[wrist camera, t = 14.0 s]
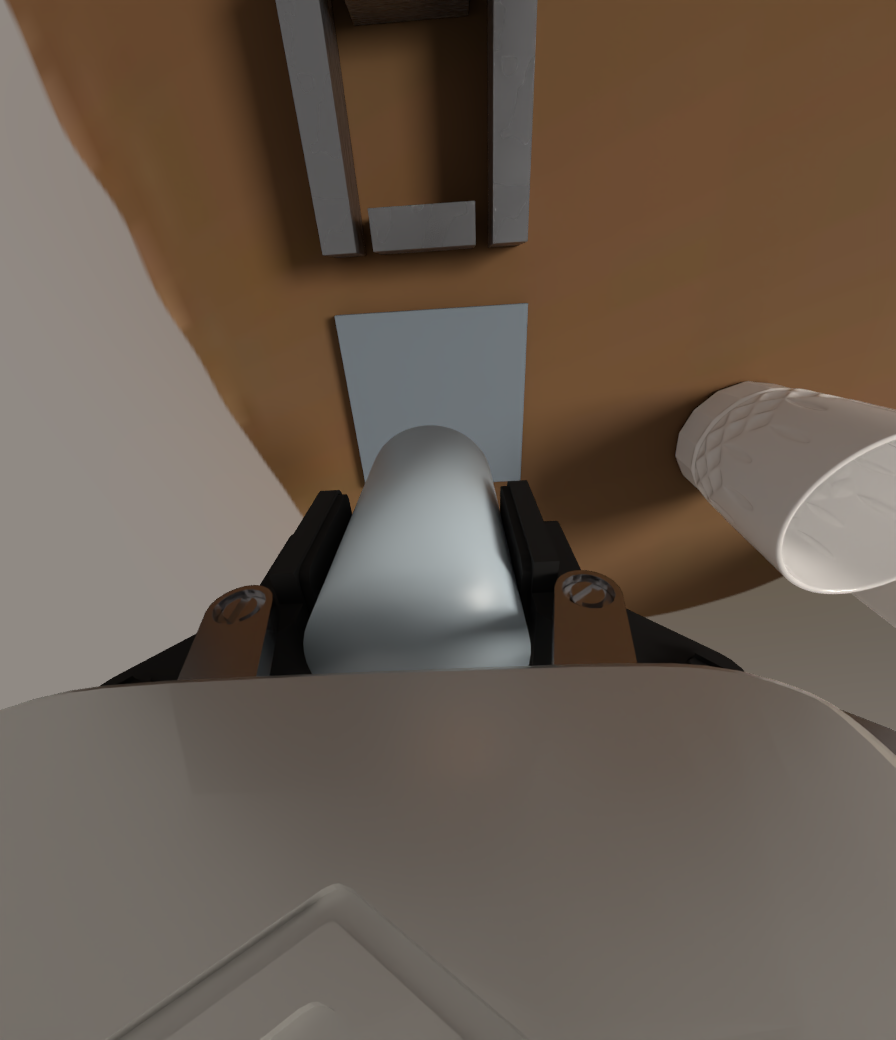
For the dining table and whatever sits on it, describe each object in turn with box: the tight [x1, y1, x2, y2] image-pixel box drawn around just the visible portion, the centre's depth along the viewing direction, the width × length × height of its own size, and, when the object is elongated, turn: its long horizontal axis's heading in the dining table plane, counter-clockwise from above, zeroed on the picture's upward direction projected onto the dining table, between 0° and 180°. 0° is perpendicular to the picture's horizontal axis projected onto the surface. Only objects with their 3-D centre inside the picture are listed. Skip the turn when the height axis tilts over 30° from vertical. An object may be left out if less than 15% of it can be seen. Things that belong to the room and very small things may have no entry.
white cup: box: [675, 381, 896, 594], centre depth 20 cm, size 8×8×10 cm
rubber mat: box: [334, 303, 528, 483], centre depth 23 cm, size 10×10×1 cm
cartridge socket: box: [275, 0, 537, 258], centre depth 16 cm, size 9×9×2 cm
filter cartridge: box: [303, 425, 531, 674], centre depth 11 cm, size 4×4×8 cm
